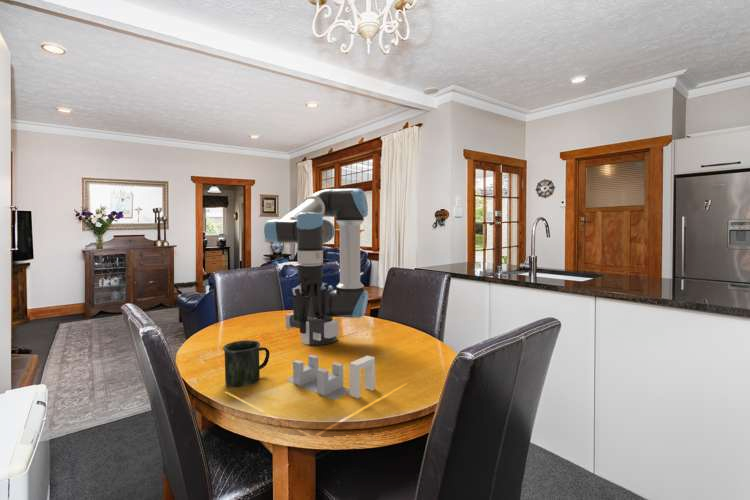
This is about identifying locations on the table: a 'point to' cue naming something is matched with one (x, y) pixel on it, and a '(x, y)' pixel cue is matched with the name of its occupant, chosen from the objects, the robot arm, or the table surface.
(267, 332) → the table surface
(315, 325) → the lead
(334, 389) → the cradle
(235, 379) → the mug
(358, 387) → the u-shaped clip
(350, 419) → the table surface
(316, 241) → the robot arm
